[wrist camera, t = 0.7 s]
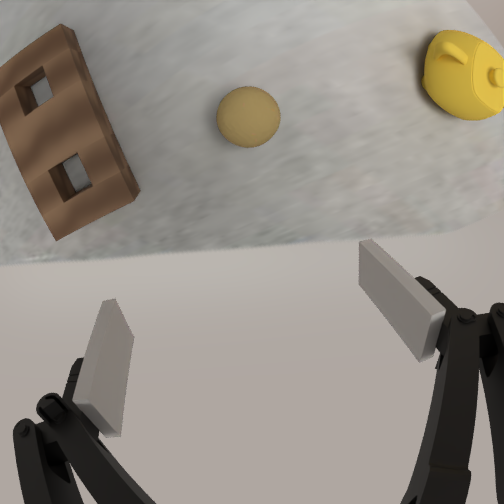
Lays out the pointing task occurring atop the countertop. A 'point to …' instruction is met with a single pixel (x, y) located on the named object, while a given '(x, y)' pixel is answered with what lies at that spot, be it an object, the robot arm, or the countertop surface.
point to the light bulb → (248, 117)
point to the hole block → (62, 134)
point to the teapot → (464, 75)
